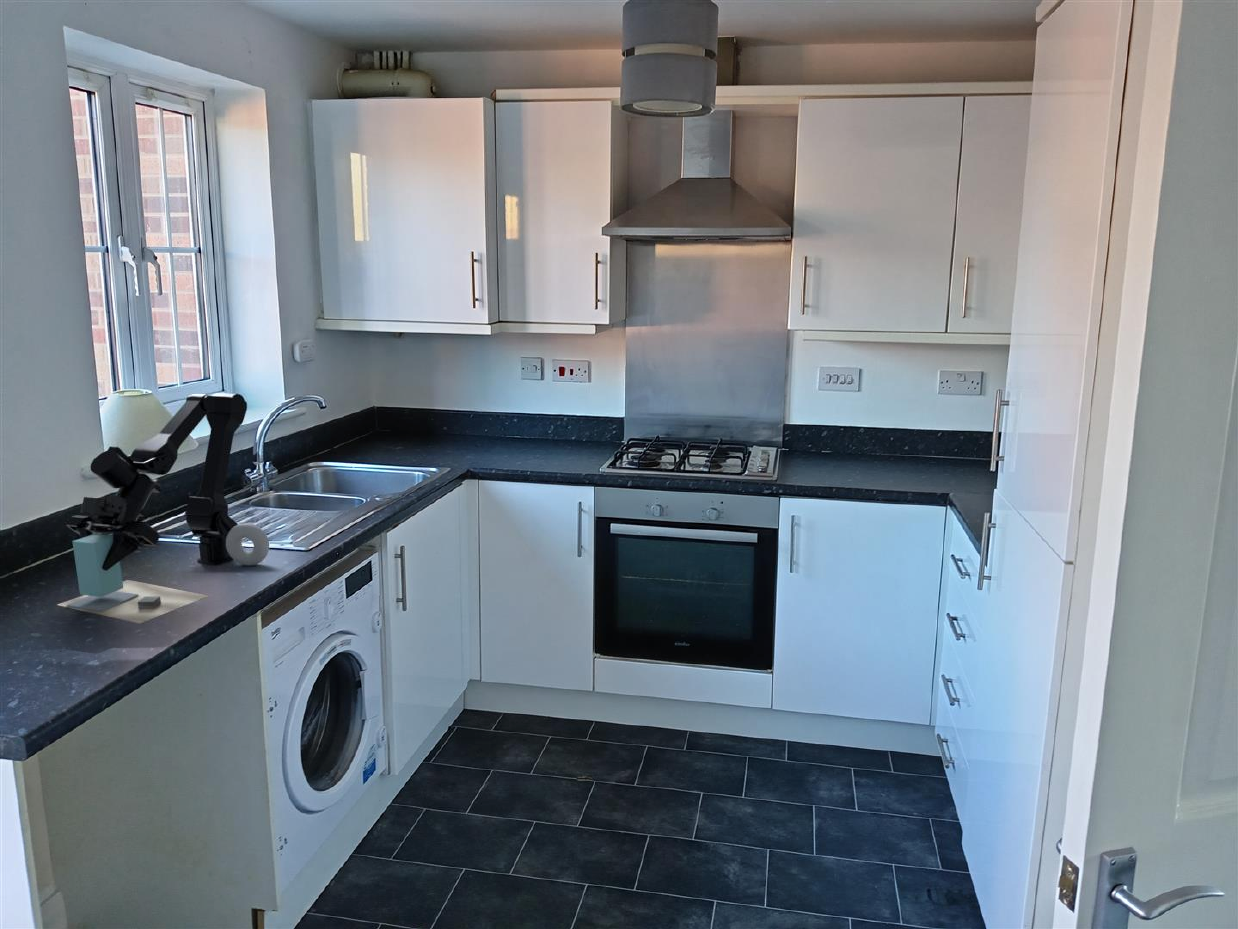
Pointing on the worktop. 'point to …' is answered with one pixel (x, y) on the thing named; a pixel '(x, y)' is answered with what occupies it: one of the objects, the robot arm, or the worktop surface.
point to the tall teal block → (96, 566)
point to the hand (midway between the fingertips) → (92, 568)
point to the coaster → (102, 601)
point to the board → (144, 591)
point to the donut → (255, 536)
